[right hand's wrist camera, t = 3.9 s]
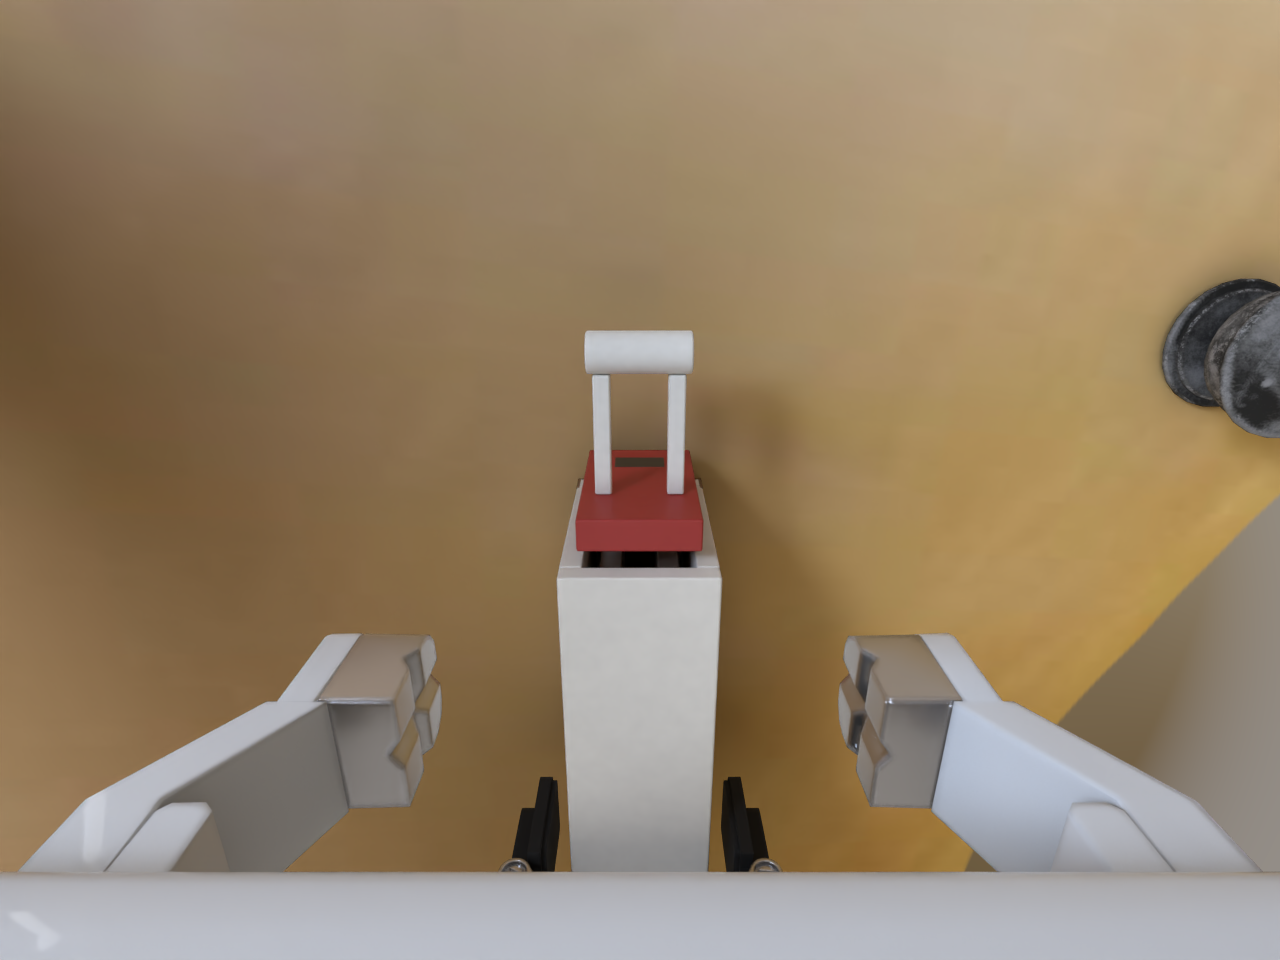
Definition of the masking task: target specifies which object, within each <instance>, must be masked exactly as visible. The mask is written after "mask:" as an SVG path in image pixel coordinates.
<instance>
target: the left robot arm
mask: <svg viewBox="0 0 1280 960" xmlns="http://www.w3.org/2000/svg"><path fill="white" fill-rule="evenodd" d="M559 831H560V820H559V802H558V785H557V780H553V777H540V782H539V787H538V793H537V799H536V804H535V808H522V810H521V815H520V820H519V825H518V830H517V835H516V840H515V845H514V850H513V855H512V859H509V860H507V861H506V862H504V863H503V864H502V865H501V867H500V868H499V870H498V872H554V870H555V863H556V855H557V847H558V839H559ZM721 832H722V840H723V848H724V855H725V863H726V871H727V872H783V871H782V869H781V867H780V865H779V864H778V863H777V862H775V861H773V860H772V859H769V856H768V851H767V846H766V841H765V836H764V831H763V826H762V821H761V816H760V811H759V808H746V805H745V800H744V794H743V788H742V782H741V778H740V777H728V780H724V783H723V801H722V818H721Z"/></svg>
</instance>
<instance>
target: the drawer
mask: <svg viewBox="0 0 1280 960" xmlns="http://www.w3.org/2000/svg"><path fill="white" fill-rule="evenodd" d="M584 354H585V369H586V373H587V374H593V376H592V392H593V430H594V450H591V451H590V453H589V457H588V462H587V467H586V472H585V477H584V481H583V486H582V491H581V496H580V501H579V505H578V510H577V515H576V520H575V528H576V549H577V551H602V552H601V561H600V568H679V560H678V551H702V549H703V523H704V521H703V516H702V511H701V506H700V501H699V496H698V491H697V486H696V481H695V476H694V471H693V466H692V461H691V456H690V452H689V450H685V420H686V379H687V377H686V374H691V373H692V372H693V366H694V335H693V332H692V331H586V333H585V344H584ZM610 374H668V433H667V450H612V443H611V383H610Z"/></svg>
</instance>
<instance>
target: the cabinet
mask: <svg viewBox="0 0 1280 960" xmlns="http://www.w3.org/2000/svg"><path fill="white" fill-rule="evenodd" d="M583 481H584V479H578V484H577V491H576V495H575V499H574V504H573V508H572V513H571V517H570V521H569V526H568V530H567V535H566V539H565V544H564V548H563V552H562V557H561V561H560V566H559V571H558V575H557V598H558V617H559V637H560V656H561V676H562V695H563V715H564V734H565V754H566V773H567V792H568V812H569V831H570V851H571V870H572V872H708V864H709V843H710V823H711V802H712V782H713V761H714V740H715V720H716V699H717V679H718V658H719V637H720V617H721V596H722V576H721V571H720V566H719V561H718V557H717V552H716V548H715V543H714V539H713V534H712V530H711V525H710V521H709V516H708V512H707V507H706V503H705V498H704V494H703V487H702V482H701V479H695V481H696V486H697V491H698V496H699V501H700V506H701V511H702V516H703V521H704V523H703V549H702V551H678V560H679V568H600V561H601V552H602V551H577V549H576V528H575V520H576V515H577V510H578V505H579V501H580V496H581V491H582V486H583Z"/></svg>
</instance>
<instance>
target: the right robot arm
mask: <svg viewBox="0 0 1280 960" xmlns="http://www.w3.org/2000/svg"><path fill="white" fill-rule="evenodd" d="M436 660H437V656H436V650H435V644H434V640H433V639H432V637H431V636H430V635H409V634H362V633H342V634H331V635H328V636H326V637H325V638H324V639H323V640H322V642H321V643H320V644H319V646H318V647H317V648H316V650H315V651H314V652H313V654H312V655H311V656H310V658H309V659H308V660H307V662H306V663H305V664H304V666H303V667H302V668H301V670H300V671H299V673H298V674H297V675H296V677H295V678H294V679H293V681H292V682H291V683H290V685H289V686H288V687H287V689H286V690H285V691H284V693H283V694H282V695H281V697H280V698H279V699H278V701H276V702H265V703H263V704H261V705H259V706H257V707H255V708H254V709H252V710H250V711H248V712H246V713H244V714H243V715H241V716H239V717H237V718H235V719H233V720H231V721H230V722H228V723H226V724H224V725H222V726H220V727H218V728H217V729H215V730H213V731H211V732H209V733H207V734H206V735H204V736H202V737H200V738H198V739H196V740H194V741H193V742H191V743H189V744H187V745H185V746H183V747H181V748H180V749H178V750H176V751H174V752H172V753H170V754H169V755H167V756H165V757H163V758H161V759H159V760H157V761H156V762H154V763H152V764H150V765H148V766H146V767H144V768H143V769H141V770H139V771H137V772H135V773H133V774H132V775H130V776H128V777H126V778H124V779H122V780H120V781H119V782H117V783H115V784H113V785H111V786H109V787H107V788H106V789H104V790H102V791H100V792H98V793H96V794H95V795H93V796H91V797H89V798H87V799H85V800H84V801H83V802H82V804H81V805H80V806H79V807H78V808H77V809H76V810H75V811H74V812H73V813H72V814H71V815H70V816H69V817H68V818H67V819H66V820H65V822H64V823H63V824H62V825H61V826H60V827H59V828H58V829H57V830H56V831H55V832H54V833H53V834H52V835H51V836H50V837H49V839H48V840H47V841H46V842H45V843H44V844H43V845H42V846H41V847H40V848H39V849H38V850H37V851H36V852H35V853H34V854H33V855H32V857H31V858H30V859H29V860H28V861H27V862H26V863H25V864H24V865H23V866H22V867H21V868H20V869H19V870H18V871H17V872H0V960H1280V872H1263V871H1262V870H1261V869H1260V868H1259V867H1258V866H1257V865H1256V864H1255V863H1254V862H1253V861H1252V859H1251V858H1250V857H1249V856H1248V855H1247V854H1246V853H1245V852H1244V851H1243V850H1242V849H1241V848H1240V847H1239V846H1238V845H1237V843H1236V842H1235V841H1234V840H1233V839H1232V838H1231V837H1230V836H1229V835H1228V834H1227V833H1226V832H1225V831H1224V830H1223V829H1222V827H1221V826H1220V825H1219V824H1218V823H1217V822H1216V821H1215V820H1214V819H1213V818H1212V817H1211V816H1210V815H1209V814H1208V813H1207V811H1206V810H1205V809H1204V808H1203V807H1202V806H1201V805H1200V804H1199V803H1198V802H1197V801H1196V800H1194V799H1192V798H1191V797H1189V796H1187V795H1185V794H1183V793H1181V792H1180V791H1178V790H1176V789H1174V788H1172V787H1170V786H1168V785H1167V784H1165V783H1163V782H1161V781H1159V780H1157V779H1156V778H1154V777H1152V776H1150V775H1148V774H1146V773H1144V772H1143V771H1141V770H1139V769H1137V768H1135V767H1133V766H1132V765H1130V764H1128V763H1126V762H1124V761H1122V760H1120V759H1119V758H1117V757H1115V756H1113V755H1111V754H1109V753H1108V752H1106V751H1104V750H1102V749H1100V748H1098V747H1097V746H1095V745H1093V744H1091V743H1089V742H1087V741H1085V740H1084V739H1082V738H1080V737H1078V736H1076V735H1074V734H1073V733H1071V732H1069V731H1067V730H1065V729H1063V728H1061V727H1060V726H1058V725H1056V724H1054V723H1052V722H1050V721H1049V720H1047V719H1045V718H1043V717H1041V716H1039V715H1037V714H1036V713H1034V712H1032V711H1030V710H1028V709H1026V708H1025V707H1023V706H1021V705H1019V704H1017V703H1015V702H1005V701H1002V699H1001V698H1000V697H999V695H998V694H997V693H996V691H995V690H994V689H993V687H992V686H991V685H990V683H989V682H988V681H987V679H986V678H985V677H984V675H983V674H982V673H981V671H980V670H979V669H978V667H977V666H976V665H975V663H974V662H973V661H972V659H971V658H970V657H969V655H968V654H967V653H966V651H965V650H964V649H963V647H962V646H961V645H960V643H959V642H958V641H957V639H956V638H955V637H954V636H953V635H951V634H949V633H933V634H915V635H869V636H848V639H847V641H846V644H845V649H844V656H843V660H844V662H845V664H846V667H847V669H848V671H849V675H848V676H847V677H846V678H845V679H844V680H843V681H842V682H841V683H840V688H839V699H838V707H839V721H840V726H841V730H842V735H843V737H844V740H845V743H846V745H847V747H848V748H849V749H850V750H852V751H853V752H854V753H856V754H857V755H858V759H857V766H856V772H857V774H858V777H859V779H860V782H861V784H862V787H863V789H864V792H865V794H866V797H867V799H868V802H869V805H870V807H900V808H932V810H931V811H932V812H933V813H934V814H935V815H936V816H937V817H938V818H939V819H940V820H941V821H943V822H944V823H945V824H946V825H947V826H948V827H949V828H950V829H951V830H952V831H953V832H955V833H956V834H957V835H958V836H959V837H960V838H961V839H962V840H963V841H964V842H966V843H967V844H968V845H969V846H970V847H971V848H972V849H973V850H974V851H975V852H976V853H978V854H979V855H980V856H981V857H982V858H983V859H984V860H985V861H986V862H987V863H988V864H990V865H991V866H992V867H993V868H994V869H995V870H996V871H997V872H283V871H284V870H285V869H286V868H287V867H289V866H290V865H291V864H292V863H293V862H294V861H295V860H296V859H297V858H298V857H300V856H301V855H302V854H303V853H304V852H305V851H306V850H307V849H308V848H309V847H310V846H312V845H313V844H314V843H315V842H316V841H317V840H318V839H319V838H320V837H321V836H323V835H324V834H325V833H326V832H327V831H328V830H329V829H330V828H331V827H332V826H334V825H335V824H336V823H337V822H338V821H339V820H340V819H341V818H342V817H343V816H345V815H346V814H347V813H348V811H349V810H348V808H379V807H410V805H411V802H412V800H413V797H414V795H415V792H416V790H417V787H418V785H419V782H420V779H421V777H422V774H423V772H424V765H423V758H422V755H423V754H425V753H426V752H427V751H429V750H430V749H431V748H432V747H433V746H434V743H435V740H436V737H437V735H438V731H439V725H440V719H441V713H442V696H441V687H440V683H439V682H438V681H437V680H436V679H435V678H434V677H433V676H432V675H431V671H432V669H433V667H434V665H435V662H436Z"/></svg>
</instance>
